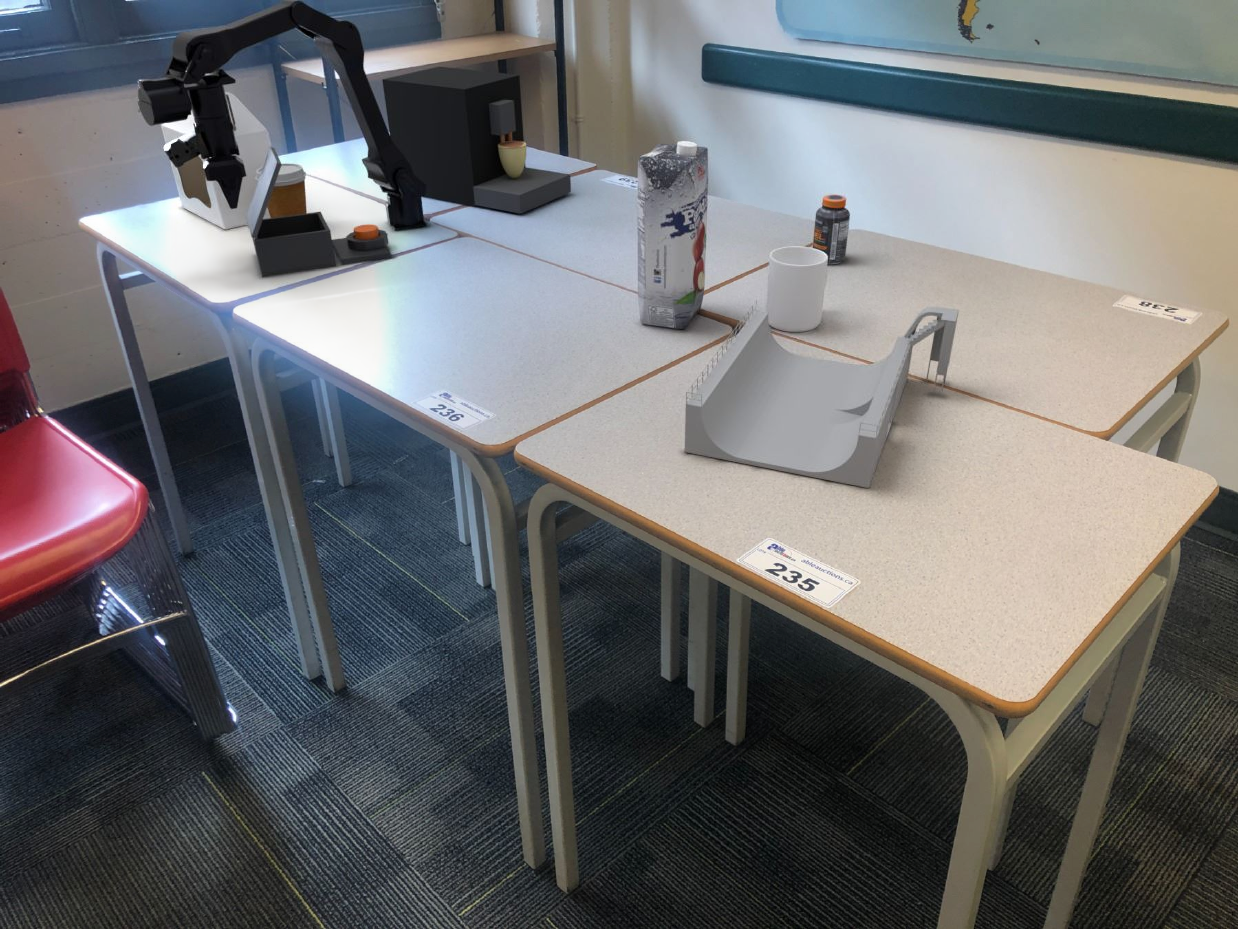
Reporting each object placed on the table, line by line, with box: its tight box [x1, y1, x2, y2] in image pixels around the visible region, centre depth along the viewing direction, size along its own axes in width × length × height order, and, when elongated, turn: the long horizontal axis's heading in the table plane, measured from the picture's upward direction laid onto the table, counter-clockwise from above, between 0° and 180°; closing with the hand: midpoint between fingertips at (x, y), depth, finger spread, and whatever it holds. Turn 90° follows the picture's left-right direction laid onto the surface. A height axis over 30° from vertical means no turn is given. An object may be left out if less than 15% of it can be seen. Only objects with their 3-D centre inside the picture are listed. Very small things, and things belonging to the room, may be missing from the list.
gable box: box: [160, 71, 272, 231], centre depth 194 cm, size 22×13×28 cm, turn 43°
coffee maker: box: [381, 66, 572, 215], centre depth 204 cm, size 18×35×24 cm, turn 57°
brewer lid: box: [246, 146, 283, 239], centre depth 167 cm, size 14×12×1 cm
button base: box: [332, 228, 392, 266], centre depth 178 cm, size 10×12×3 cm
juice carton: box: [636, 140, 709, 330], centre depth 143 cm, size 9×10×27 cm
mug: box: [765, 245, 829, 333], centre depth 146 cm, size 9×12×11 cm
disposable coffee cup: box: [255, 163, 308, 218], centre depth 188 cm, size 10×10×12 cm
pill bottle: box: [812, 193, 851, 265], centre depth 168 cm, size 6×6×11 cm
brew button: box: [353, 224, 379, 240], centre depth 177 cm, size 4×4×2 cm
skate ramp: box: [684, 299, 960, 489], centre depth 119 cm, size 30×27×11 cm
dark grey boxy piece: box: [252, 211, 337, 278], centre depth 173 cm, size 13×12×7 cm
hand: (233, 208), depth 167 cm, fingers closed
